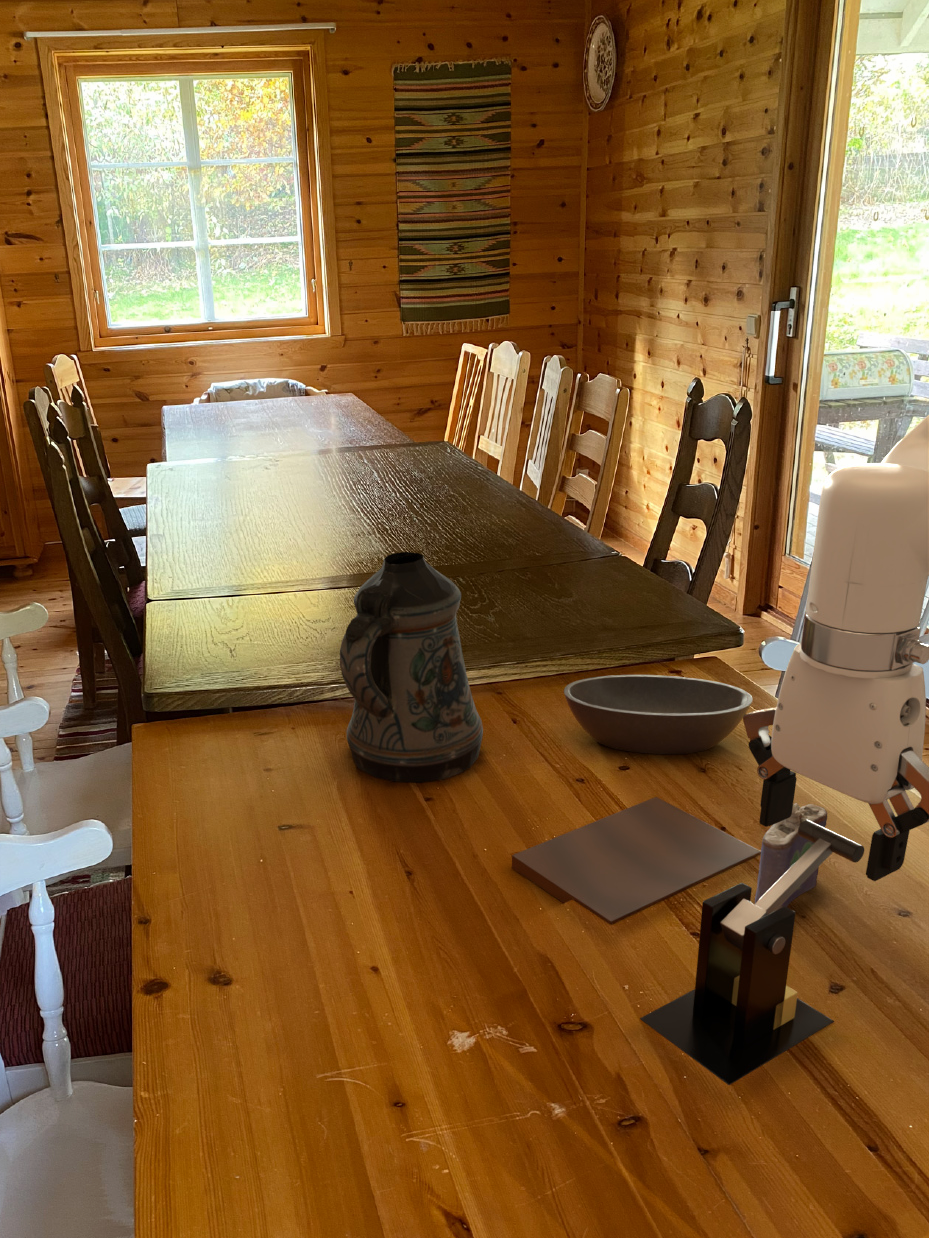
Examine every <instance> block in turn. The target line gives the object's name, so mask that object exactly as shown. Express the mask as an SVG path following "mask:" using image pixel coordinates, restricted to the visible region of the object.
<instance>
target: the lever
mask: <svg viewBox="0 0 929 1238" xmlns="http://www.w3.org/2000/svg"><path fill="white" fill-rule="evenodd" d="M798 834H799V836H801V837H803V838H805V839H807V840H809V841H811V842H813V843H814V844H813V845H812V846H811V847H810V848H809V849H808V850H807V851H806V852H805V853H804V854H803V855H802V856H801V857H800V858H799V859H798V860H797V861H796V862H795V863H794V864H793V865H792V866H791V867H790V869H789V870H788V871H787V872H786V873H785V874H784V875H783V876H782V877H781V878H780V879H779V880H778V881H777V882H776V883H775V884H774V885H773V886H772V887H771V888H770V889H769V890H768V891H767V892H766V893H765V894H764V895H763V896H762V897H761V898H760V899H759V900H758V901H757V902H756V903H755V902H754V903H753V902H752V901H750V902H749V901H748V900H746V899H743V900H742V901H741V902H740V903H739V904H738V905H737V906H736V907H735V908H734V909H733V910H732V911H731V912H730V913H729V914H728V915H727V916H726V917H725V918H724V919H723V920H722V921H721V922H720V924H721V927H722V930H723V932H724V935H725V938H726V941H727V942H729V943H731V944H732V945H734V946H735V947H737V948H739V949H740V950H742V949H743V940H744V931H745V926H747V925H749V924H751V923H753V922H754V921H756V920H758V919H760V918H762V917H764V916H766V915H768V914H770V913H772V912H774V911H776V910H777V909H778V908H779V907H780V906H781V905H782V904H783V903H784V902H785V901H786V900H787V899H788V898H789V897H790V896H791V895H792V894H793V893H794V892H795V891H796V889H797V888H798V887H799V886H800V885H801V884H802V883H803V882H804V881H805V880H806V879H807V878H808V877H809V876H810V875H811V874H812V873H813V872H814V871H815V870H816V869H817V868H818V867H820V866H821V865H822V864H823V863H824V862H825V861H826V860H827V859H828V858H829V857H830V856H831V855H832V854H835V855H838V856H840V857H842V858H844V859H846V860H847V861H850V862H852V863H856V864H857V863H858V862H860V861H861V859H862V858H863V856H864V854H865V847H864V845H863V844H860V843H858V842H855V841H853V840H852V839H850V838H847V837H845V836H843V835H841V834H839V833H837V832H835V831H833V830H830V829H828V828H826V827H825V828H824V827H822V826H820V825H818V824H816V823H814V822H812V821H809V820H804V821H803V822H802V823H801V824H800V826H799V828H798ZM818 869H819V868H818Z"/></svg>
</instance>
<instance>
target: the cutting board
mask: <svg viewBox="0 0 929 1238" xmlns="http://www.w3.org/2000/svg"><path fill="white" fill-rule="evenodd" d="M760 856H761V850H759V849H758V848H756V847H754V846H752V845H750V844H749V843H746V842H744V841H742V840H740V839H738V838H736V837H735V836H732V835H730V834H728V833H727V832H724V831H723V830H721V829H720V828H717V827H715V826H713V825H712V824H710V823H707V822H705V821H704V820H702V819H699V818H698V817H696V816H694V815H692V814H690V813H689V812H686V811H684V810H682V809H681V808H679V807H677V806H675V805H673V804H671V803H669V802H667V801H665V800H663V799H661V798H659V797H658V796H654V797H652V798H649V799H646V800H645V801H642V802H640V803H637V804H634V805H632V806H629V807H627V808H625V809H623V810H620V811H618V812H615V813H613V814H610V815H608V816H605V817H603V818H600V819H598V820H594V821H593V822H590V823H587V824H585V825H583V826H581V827H578V828H576V829H573V830H571V831H568V832H566V833H563V834H561V835H558V836H556V837H553V838H551V839H548V840H546V841H544V842H541V843H539V844H536V845H534V846H531V847H528V848H527V849H524V850H522V851H519V852H517V853H514V854H512V855H511V868H512V869H513V870H514V871H515V872H517V873H519V874H520V875H521V876H523V877H524V878H526V879H527V880H529V881H530V882H532V883H533V884H534V885H536V886H538V887H539V888H540V889H542V890H543V891H545V892H546V893H548V894H549V895H551V896H552V897H554V899H556V900H558V901H560V902H561V903H562V904H567V903H568V902H571V901H575V902H576V903H578V904H579V905H581V906H582V907H583V908H585V909H586V910H588V911H589V912H591V913H592V914H594V915H595V916H597V917H598V918H600V919H601V920H603V921H604V922H605V923H607V924H609V925H611V926H612V925H614V924H616V923H618V922H621V921H622V920H625V919H627V918H629V917H631V916H633V915H635V914H638V913H639V912H642V911H644V910H646V909H648V908H650V907H653V906H654V905H656V904H658V903H661V902H663V901H665V900H667V899H669V898H672V897H673V896H675V895H678V894H680V893H682V892H683V891H686V890H688V889H690V888H693V887H695V886H697V885H700V884H701V883H703V882H705V881H707V880H711V878H714V877H716V876H718V875H720V874H722V873H724V872H727V871H729V870H731V869H733V868H734V867H737V866H739V865H741V864H744V863H746V862H748V861H750V860H752V859H754V858H756V857H760Z"/></svg>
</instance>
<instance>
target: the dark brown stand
mask: <svg viewBox="0 0 929 1238" xmlns="http://www.w3.org/2000/svg"><path fill="white" fill-rule="evenodd" d="M752 890H753V888H752V887H751V886H749V885H747V884H746V883H744V882H740V883H738V884H736V885H734V886H731V887H729V888H727V889H725V890H723V891H721V892H719V893H717V894H715V895H712V896H710V897H709V898H707V899H705V900H703V901H702V904H701V905H702V906H701V916H700V926H699V927H700V928H699V929H700V930H699V940H698V949H697V951H698V952H697V961H696V974H695V982H694V983H695V984H694V989H692V990H690V991H688V992H686V993H684V994H683V995H681V996H679V997H676V998H675V999H672V1001H669V1002H668V1003H666V1004H664V1005H662V1006H660V1007H659V1008H657V1009H655V1010H653V1011H651V1012H649V1013H647V1014H645V1015H644V1016H642V1017H640V1018H639V1020H640V1021H641V1022H643V1023H644V1024H646V1025H647V1026H649V1027H650V1028H651V1029H652V1030H654V1031H655V1032H657V1033H658V1034H659V1035H660V1036H662V1037H663V1038H664V1039H666V1040H667V1041H669V1042H670V1043H671V1044H673V1045H674V1046H675V1047H676V1048H678V1049H679V1050H681V1051H682V1052H683V1053H685V1055H687V1056H689V1057H690V1058H692V1059H693V1061H696V1062H697V1063H698V1064H699V1065H701V1066H702V1067H704V1068H705V1069H706V1070H707V1071H709V1072H710V1073H711V1074H713V1075H714V1076H716V1077H717V1078H718V1079H719V1080H721V1081H722V1082H724V1084H726V1085H727V1086H731V1085H732V1084H734V1083H735V1082H738V1081H739V1080H740V1079H742V1078H744V1077H745V1076H747V1075H748V1074H751V1073H753V1072H754V1071H755V1070H758V1068H761V1067H762V1066H764V1065H765V1064H767V1063H769V1062H770V1061H771V1060H773V1059H775V1058H777V1057H778V1056H781V1054H784V1053H785V1052H786V1051H788V1050H790V1049H792V1048H793V1047H796V1045H798V1044H800V1043H802V1042H803V1041H805V1040H806V1039H809V1038H810V1037H811V1036H813V1035H814V1034H816V1033H818V1032H819V1031H821V1030H823V1029H824V1028H827V1027H828V1026H829V1025H832V1024H833V1023H834V1022H835V1021H834V1020H833V1019H831V1018H830V1017H828V1016H827V1015H825V1014H824V1013H822V1012H820V1011H819V1010H817V1009H815V1008H814V1007H812V1006H811V1005H809V1004H808V1003H806V1002H805V1001H803V1000H802V999H800V998H798V997H797V1002H796V1009H795V1017H794V1018H793V1019H792V1020H790V1021H788V1022H786V1023H785V1024H783V1025H779V1024H780V1023H778V1024H776V1027H778V1028H776V1029H774V1026H775V1025H774V1021H775V1019H776V1018H777V1015H778V1016H779V1017H780V1015H782V1014H781V1013H780V1014H777V1015H776V1014H775V1013H776V1009H777V1012H778V1009H780V1010H779V1012H780V1011H781V1010H782V1009H783V1008H782V1009H781V1005H782V1004H781V1005H780V1003H782V1002H783V1001H784V998H785V991H786V985H787V982H788V975H789V967H790V958H791V953H792V952H791V951H792V945H793V935H794V929H795V920H796V913H797V912H796V911H795V910H793V909H791V908H789V907H788V906H787V907H786V906H784V907H782V908H780V909H778V910H776V911H774V912H772V913H770V914H768V915H766V916H764V917H762V918H760V919H758V920H756V921H754V922H753V923H751V924H749V925H747V926H745V931H744V940H743V949H742V950H740V949H739V948H737V947H735V946H734V945H732V944H731V943H729V942H727V941H726V938H725V935H724V932H723V930H722V927H721V924H720V922H721V921H722V920H723V919H724V918H725V917H726V916H727V915H728V914H729V913H730V912H731V911H732V910H733V909H734V908H735V907H736V906H737V905H738V904H739V903H740V902H741V901H742V900H743V899H746V900H748V901H749V902H751V899H752ZM739 975H740V977H739V986H738V995H737V1004H736V1006H735V1005H734V1004H732V996H733V986H734V978H736V977H738V976H739ZM778 1004H779V1005H780V1008H778ZM783 1005H784V1004H783ZM783 1005H782V1006H783ZM782 1012H783V1011H782ZM775 1015H776V1018H775ZM781 1017H782V1016H781ZM779 1019H780V1020H782V1018H779ZM776 1023H777V1022H776ZM773 1029H774V1030H773Z"/></svg>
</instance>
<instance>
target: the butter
mask: <svg viewBox="0 0 929 1238" xmlns="http://www.w3.org/2000/svg"><path fill="white" fill-rule="evenodd" d="M739 977H740V975H739V976H738V977H736V978H734V986H733V996H732V1004H734V1005H735V1006H736V1004H737V995H738V986H739ZM798 994H799V993H798V991H796V990H795V989H794V988H791V987H790V986H788V985H787V984H786V991H785V998H784V1001H783V1002H782V1003H780V1005H781V1004H782V1005H783V1004H784V1005H783V1006H782V1005H781V1009H782V1008H783V1009H782V1010H781V1011H780V1012H779V1010H780V1009H778V1012H777V1009H776V1013H775V1014H776V1015H777V1014H780V1013H781V1014H782V1015H780V1017H779V1016H778V1015H777V1018H776V1015H775V1018H776V1019H775V1021H774V1025H775V1026H774V1029H776V1028H778V1027H776V1024H778V1023H780V1024H779V1025H783V1024H785V1023H786V1022H788V1021H790V1020H792V1019H793V1018H794V1017H795V1009H796V1002H797V998H798ZM780 1005H779V1004H778V1008H780ZM782 1011H783V1012H782ZM781 1016H782V1017H781ZM779 1018H782V1020H780V1019H779ZM776 1022H777V1023H776ZM774 1029H773V1030H774Z"/></svg>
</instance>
